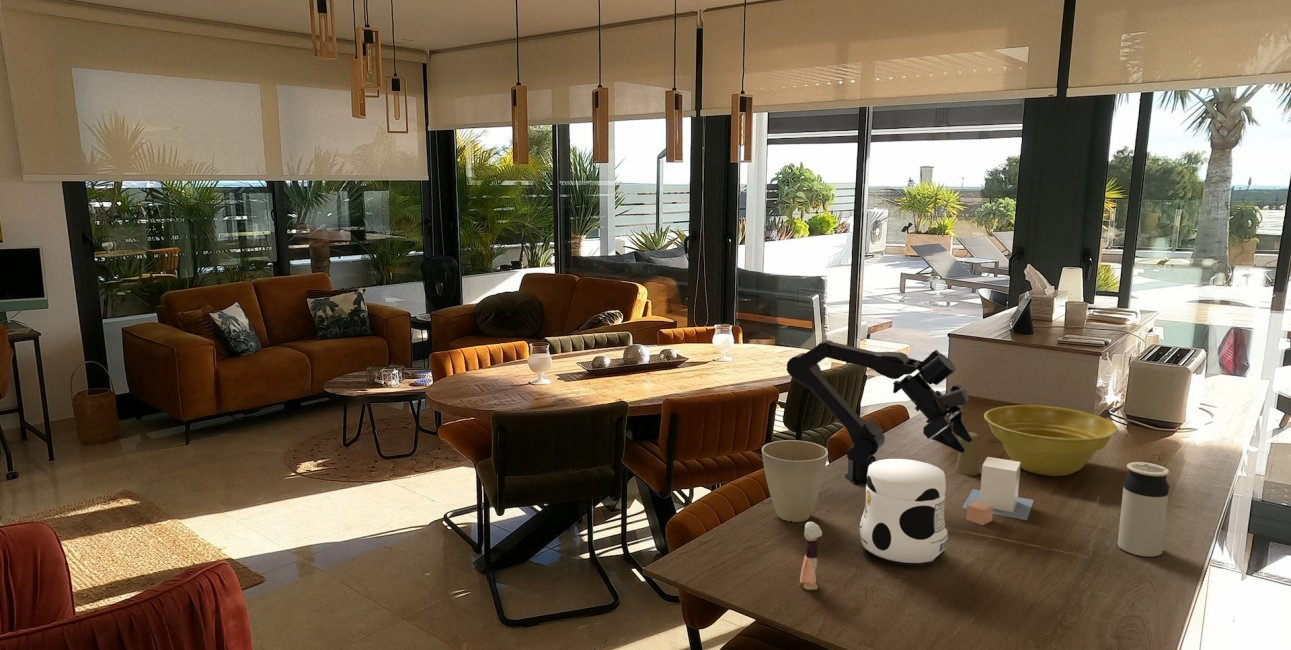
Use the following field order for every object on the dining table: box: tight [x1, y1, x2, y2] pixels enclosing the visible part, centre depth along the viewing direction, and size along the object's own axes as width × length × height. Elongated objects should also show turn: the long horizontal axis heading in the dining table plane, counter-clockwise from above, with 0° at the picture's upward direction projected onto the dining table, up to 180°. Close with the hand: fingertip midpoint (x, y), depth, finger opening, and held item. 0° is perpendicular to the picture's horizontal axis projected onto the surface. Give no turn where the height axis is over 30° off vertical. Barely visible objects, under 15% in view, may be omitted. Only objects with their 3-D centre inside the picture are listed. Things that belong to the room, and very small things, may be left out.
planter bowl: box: [983, 404, 1119, 477], centre depth 220 cm, size 32×32×13 cm
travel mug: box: [1117, 461, 1170, 558], centre depth 170 cm, size 8×8×18 cm
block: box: [965, 501, 994, 526], centre depth 186 cm, size 4×4×4 cm
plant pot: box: [761, 439, 829, 523], centre depth 188 cm, size 15×15×16 cm
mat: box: [962, 488, 1035, 521], centre depth 195 cm, size 14×14×1 cm
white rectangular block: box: [980, 456, 1021, 512], centre depth 194 cm, size 7×7×10 cm
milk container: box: [859, 458, 948, 566], centre depth 169 cm, size 17×17×18 cm
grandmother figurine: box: [799, 521, 823, 591], centre depth 155 cm, size 8×4×13 cm, turn 5°
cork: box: [954, 431, 980, 476], centre depth 217 cm, size 6×6×11 cm
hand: (967, 446), depth 197 cm, fingers open, 9 cm apart
